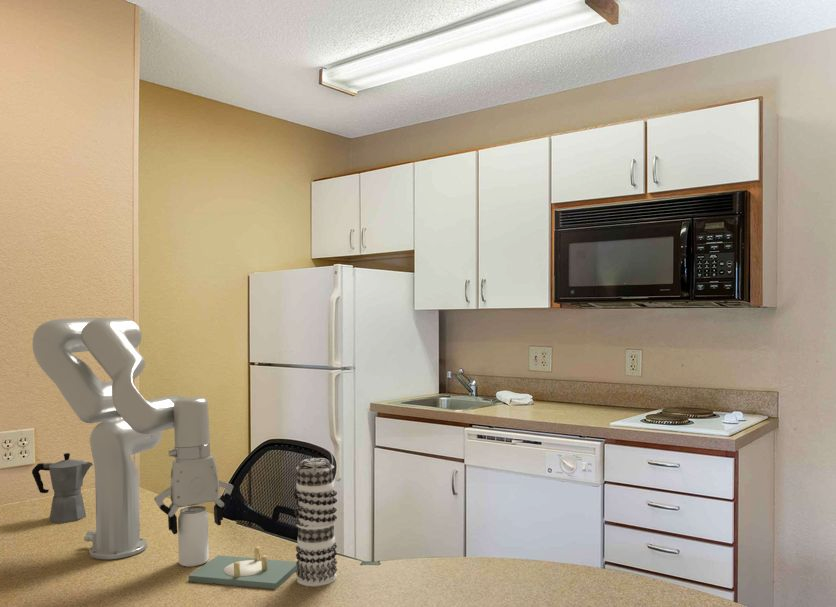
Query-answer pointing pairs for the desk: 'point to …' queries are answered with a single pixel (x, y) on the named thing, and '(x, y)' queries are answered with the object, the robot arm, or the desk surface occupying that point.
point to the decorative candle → (315, 522)
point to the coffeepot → (64, 488)
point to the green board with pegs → (245, 571)
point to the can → (193, 536)
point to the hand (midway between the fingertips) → (196, 528)
